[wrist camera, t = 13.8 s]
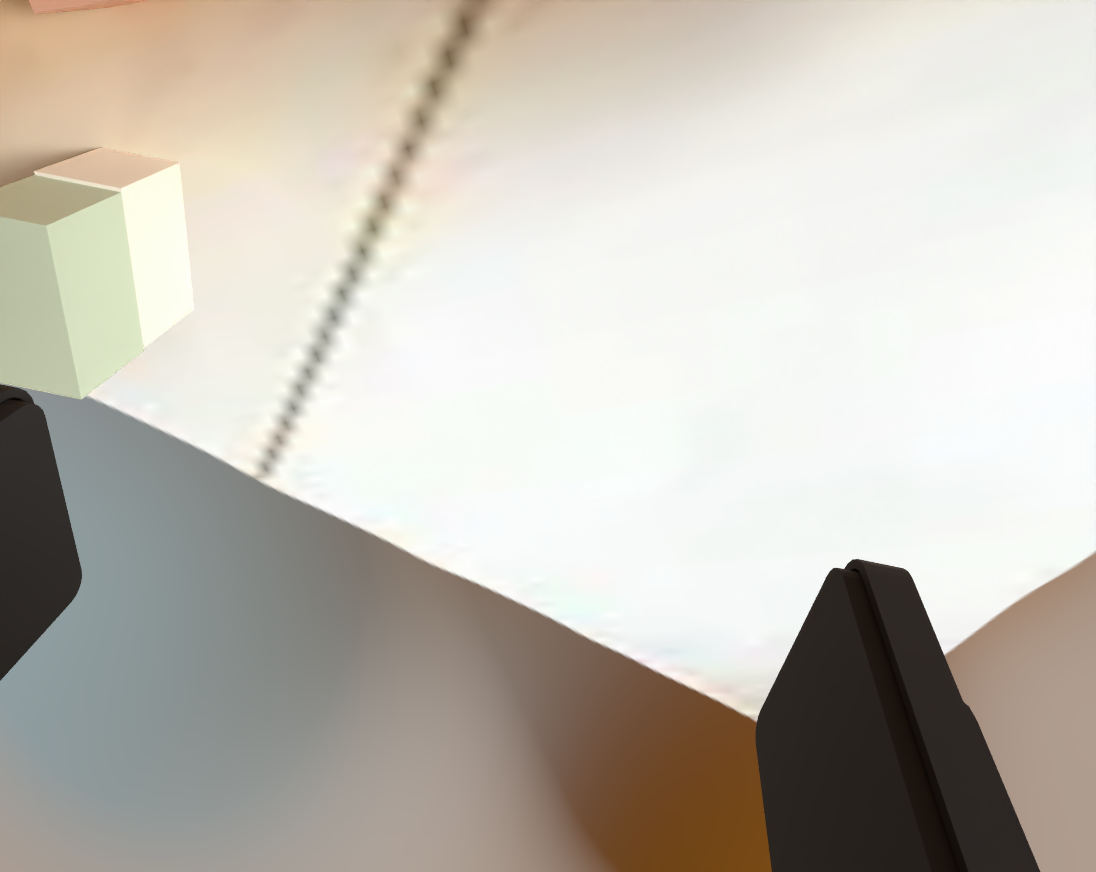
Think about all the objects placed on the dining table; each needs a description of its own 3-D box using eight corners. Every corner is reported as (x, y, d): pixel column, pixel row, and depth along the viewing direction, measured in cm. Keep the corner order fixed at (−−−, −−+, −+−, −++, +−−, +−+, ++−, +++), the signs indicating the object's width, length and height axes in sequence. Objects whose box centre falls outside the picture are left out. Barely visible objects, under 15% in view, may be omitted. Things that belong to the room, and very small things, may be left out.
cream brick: (101, 147, 38) (33, 170, 34) (179, 162, 38) (120, 188, 34) (124, 294, 43) (66, 332, 38) (194, 308, 43) (144, 347, 38)
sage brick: (34, 174, 34) (-54, 205, 30) (121, 192, 34) (46, 225, 30) (66, 335, 38) (-6, 381, 34) (144, 350, 38) (81, 399, 34)
